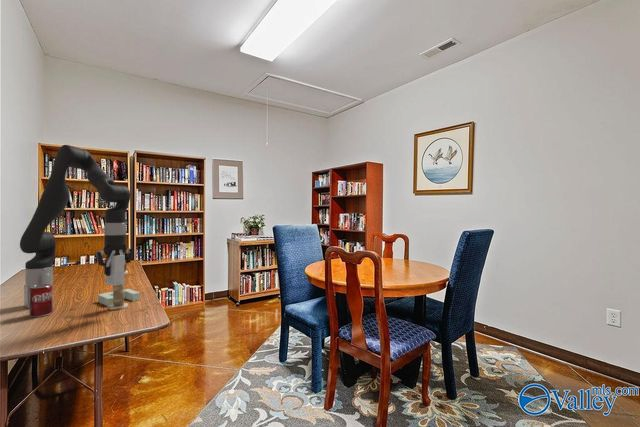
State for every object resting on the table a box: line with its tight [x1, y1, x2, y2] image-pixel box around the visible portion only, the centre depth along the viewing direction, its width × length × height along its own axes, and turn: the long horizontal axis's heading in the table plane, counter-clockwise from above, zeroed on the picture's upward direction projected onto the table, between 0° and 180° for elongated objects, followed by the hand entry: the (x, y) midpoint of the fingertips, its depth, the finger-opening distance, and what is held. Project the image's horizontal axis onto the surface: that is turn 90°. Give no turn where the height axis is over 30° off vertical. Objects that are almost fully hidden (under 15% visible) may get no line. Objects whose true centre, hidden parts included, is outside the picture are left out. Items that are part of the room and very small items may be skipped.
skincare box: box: [105, 254, 126, 286], centre depth 129 cm, size 6×4×12 cm
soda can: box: [28, 284, 54, 318], centre depth 128 cm, size 7×7×12 cm
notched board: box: [97, 288, 141, 308], centre depth 148 cm, size 14×12×4 cm
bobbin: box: [108, 270, 129, 311], centre depth 138 cm, size 7×7×16 cm
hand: (114, 274), depth 129 cm, fingers closed on skincare box, 4 cm apart
